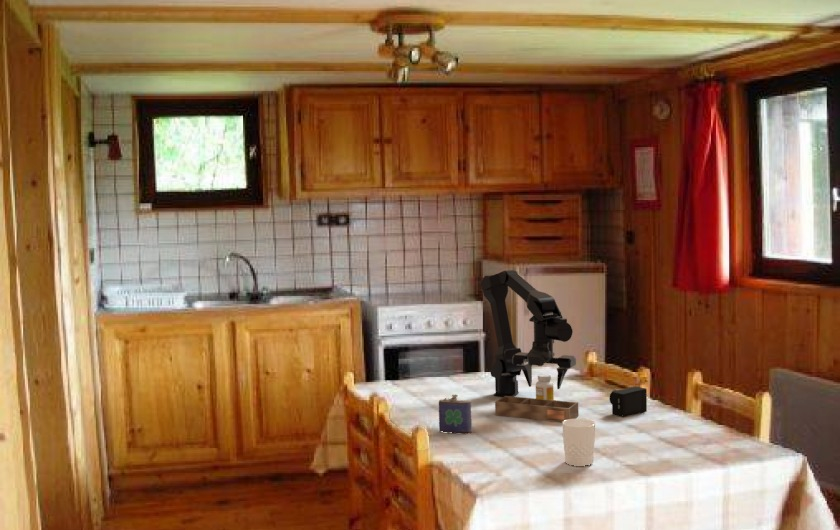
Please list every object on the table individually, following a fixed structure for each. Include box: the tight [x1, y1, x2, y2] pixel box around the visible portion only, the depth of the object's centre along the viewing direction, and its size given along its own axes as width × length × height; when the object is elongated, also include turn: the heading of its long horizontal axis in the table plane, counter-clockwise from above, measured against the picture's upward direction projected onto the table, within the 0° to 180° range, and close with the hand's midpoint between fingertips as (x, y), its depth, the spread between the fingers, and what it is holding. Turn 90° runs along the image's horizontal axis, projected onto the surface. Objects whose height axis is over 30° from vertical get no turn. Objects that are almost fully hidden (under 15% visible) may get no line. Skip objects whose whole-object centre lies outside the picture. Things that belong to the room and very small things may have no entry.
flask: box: [438, 394, 473, 434], centre depth 248 cm, size 9×3×11 cm, turn 74°
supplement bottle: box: [535, 373, 555, 400], centre depth 273 cm, size 5×5×10 cm
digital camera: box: [609, 386, 648, 418], centre depth 263 cm, size 10×5×7 cm, turn 126°
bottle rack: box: [494, 396, 580, 423], centre depth 263 cm, size 23×8×4 cm, turn 62°
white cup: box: [561, 418, 596, 467], centre depth 217 cm, size 8×8×10 cm
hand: (544, 387), depth 273 cm, fingers open, 9 cm apart
